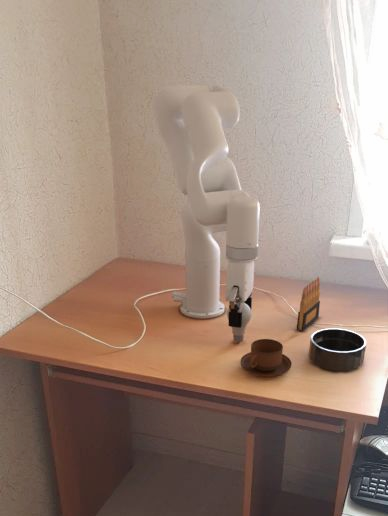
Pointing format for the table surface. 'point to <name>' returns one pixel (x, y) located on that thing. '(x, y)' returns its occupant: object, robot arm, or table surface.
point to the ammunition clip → (309, 305)
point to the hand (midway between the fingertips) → (240, 319)
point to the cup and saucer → (266, 359)
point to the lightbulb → (246, 316)
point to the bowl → (337, 349)
